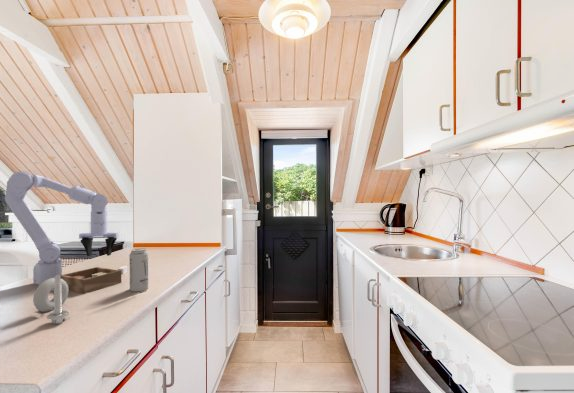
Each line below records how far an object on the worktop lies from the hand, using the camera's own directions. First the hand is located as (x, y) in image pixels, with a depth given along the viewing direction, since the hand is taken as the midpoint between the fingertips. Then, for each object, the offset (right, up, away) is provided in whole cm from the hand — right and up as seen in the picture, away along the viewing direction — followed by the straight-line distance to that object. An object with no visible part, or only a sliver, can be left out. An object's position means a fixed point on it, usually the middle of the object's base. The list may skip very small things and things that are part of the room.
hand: (99, 255), depth 128 cm
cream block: (+7, -9, -10) cm, 15 cm away
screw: (+16, -10, -44) cm, 48 cm away
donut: (+8, -10, -36) cm, 38 cm away
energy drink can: (+25, -10, -17) cm, 32 cm away
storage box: (+5, -10, -13) cm, 17 cm away
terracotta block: (+1, -9, -15) cm, 17 cm away
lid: (+7, -10, +5) cm, 13 cm away
